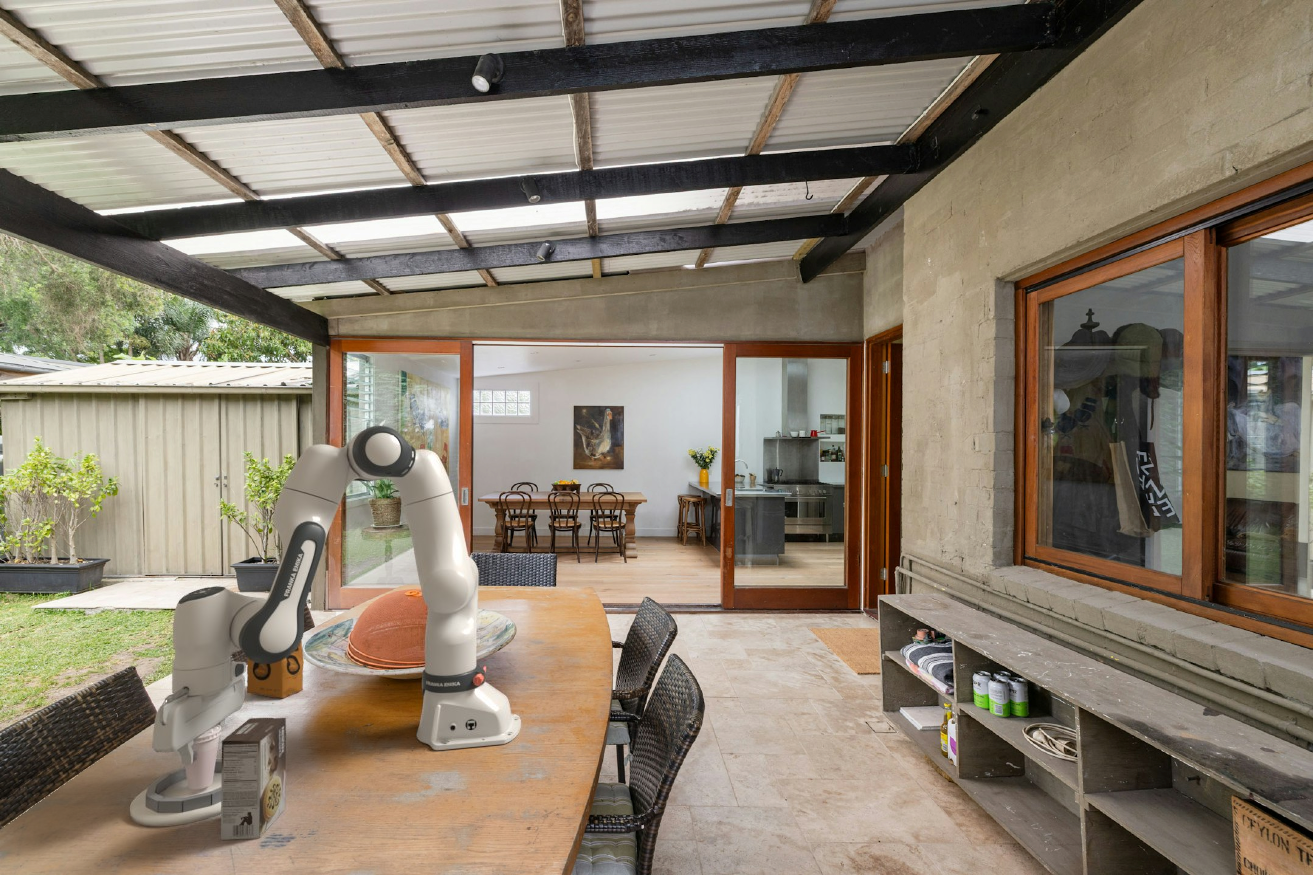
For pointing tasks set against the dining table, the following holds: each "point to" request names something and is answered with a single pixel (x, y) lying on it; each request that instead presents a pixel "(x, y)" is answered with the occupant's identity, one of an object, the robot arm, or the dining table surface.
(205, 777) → the smoothie
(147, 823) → the ring plate
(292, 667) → the coffee package
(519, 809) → the dining table surface
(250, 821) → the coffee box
